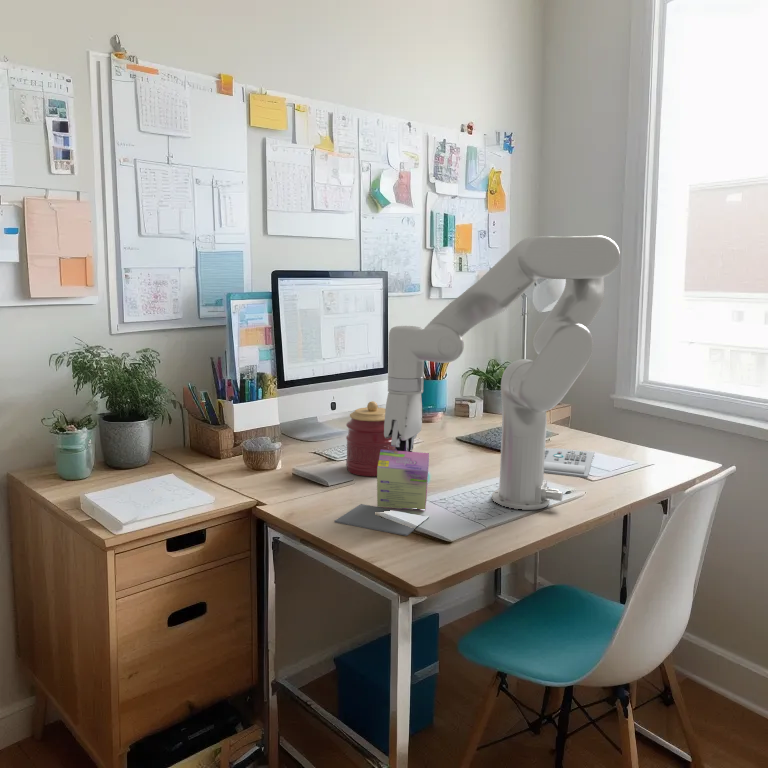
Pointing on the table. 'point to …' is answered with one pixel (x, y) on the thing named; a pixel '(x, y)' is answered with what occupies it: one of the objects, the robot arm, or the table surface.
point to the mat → (372, 520)
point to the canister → (366, 440)
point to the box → (402, 479)
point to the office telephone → (568, 462)
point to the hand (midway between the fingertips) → (403, 468)
